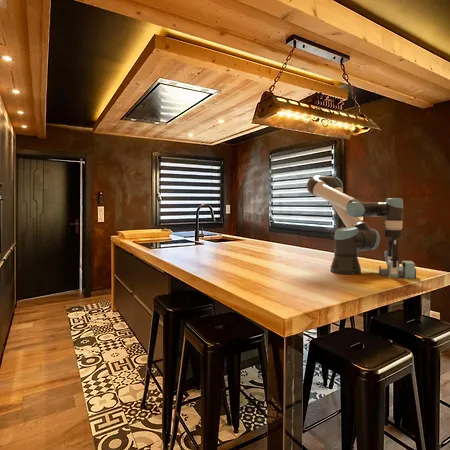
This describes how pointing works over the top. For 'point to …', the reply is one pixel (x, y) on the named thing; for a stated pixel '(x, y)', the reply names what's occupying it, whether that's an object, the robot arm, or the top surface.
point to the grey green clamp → (407, 271)
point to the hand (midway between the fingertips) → (392, 271)
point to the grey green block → (390, 269)
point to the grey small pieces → (387, 259)
